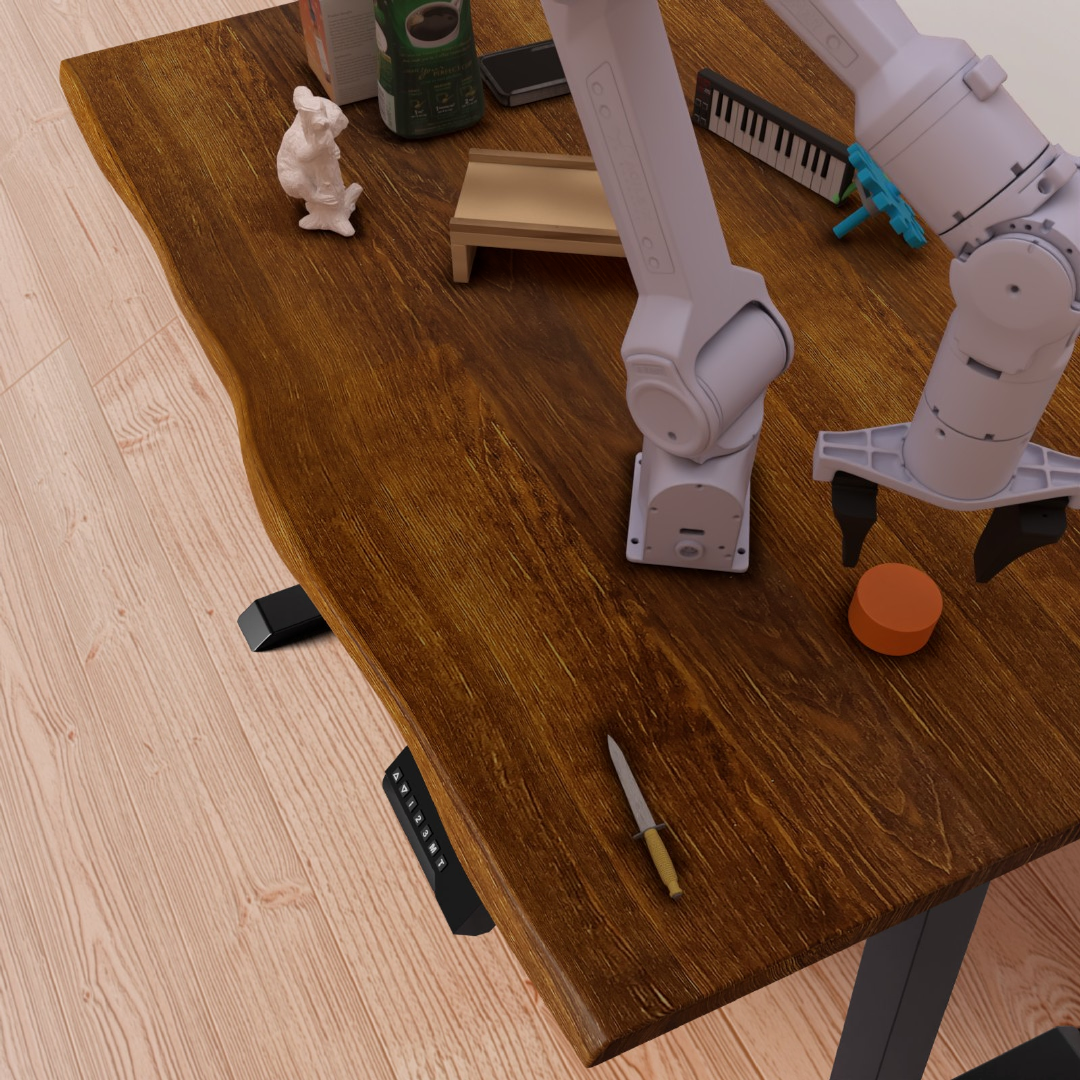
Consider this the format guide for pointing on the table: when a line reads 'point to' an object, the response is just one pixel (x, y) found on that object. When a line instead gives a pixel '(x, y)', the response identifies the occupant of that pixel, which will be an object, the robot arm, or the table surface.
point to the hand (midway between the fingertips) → (913, 561)
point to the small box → (342, 47)
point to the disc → (895, 609)
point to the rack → (531, 207)
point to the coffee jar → (427, 67)
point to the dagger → (645, 822)
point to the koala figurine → (317, 164)
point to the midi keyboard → (772, 135)
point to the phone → (524, 73)
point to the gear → (878, 199)
